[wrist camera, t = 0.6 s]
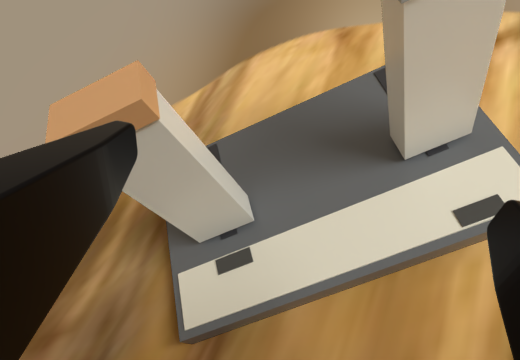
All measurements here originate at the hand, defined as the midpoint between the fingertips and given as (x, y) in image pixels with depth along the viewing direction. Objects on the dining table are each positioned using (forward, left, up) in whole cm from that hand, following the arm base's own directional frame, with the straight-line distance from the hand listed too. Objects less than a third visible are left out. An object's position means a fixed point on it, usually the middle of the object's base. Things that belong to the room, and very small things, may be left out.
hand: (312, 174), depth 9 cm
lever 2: (+9, -4, -13) cm, 16 cm away
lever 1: (+4, +9, -13) cm, 16 cm away
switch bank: (+7, +4, -14) cm, 17 cm away
